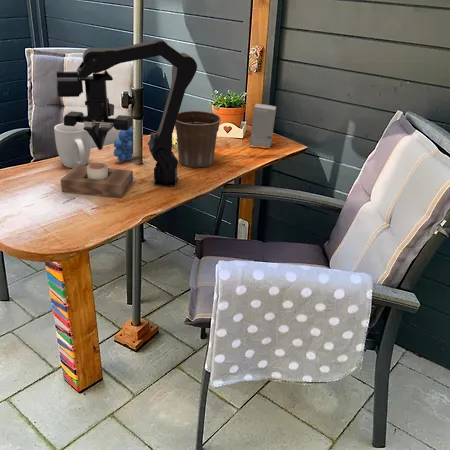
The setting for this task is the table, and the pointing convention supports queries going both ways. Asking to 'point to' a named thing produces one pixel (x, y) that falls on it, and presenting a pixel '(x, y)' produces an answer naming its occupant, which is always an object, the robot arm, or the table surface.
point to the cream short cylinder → (97, 171)
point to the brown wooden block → (97, 182)
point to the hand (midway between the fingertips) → (100, 149)
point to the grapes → (124, 145)
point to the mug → (72, 144)
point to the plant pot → (196, 137)
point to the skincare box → (262, 125)
